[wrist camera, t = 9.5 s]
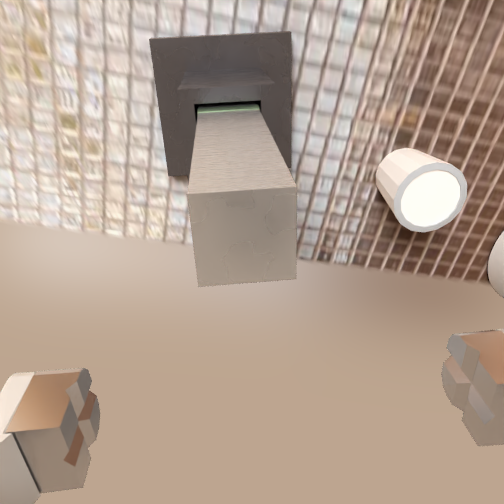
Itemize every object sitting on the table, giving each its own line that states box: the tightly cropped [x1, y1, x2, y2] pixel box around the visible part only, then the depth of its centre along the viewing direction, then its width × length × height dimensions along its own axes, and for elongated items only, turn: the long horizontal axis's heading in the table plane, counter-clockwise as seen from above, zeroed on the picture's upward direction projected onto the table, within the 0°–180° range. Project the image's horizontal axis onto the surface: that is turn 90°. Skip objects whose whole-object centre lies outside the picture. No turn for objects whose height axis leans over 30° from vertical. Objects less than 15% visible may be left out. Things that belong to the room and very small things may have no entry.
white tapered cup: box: [376, 148, 467, 232], centre depth 43 cm, size 7×7×7 cm
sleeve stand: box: [149, 31, 291, 183], centre depth 36 cm, size 12×12×12 cm
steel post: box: [187, 101, 297, 287], centre depth 25 cm, size 4×4×18 cm
